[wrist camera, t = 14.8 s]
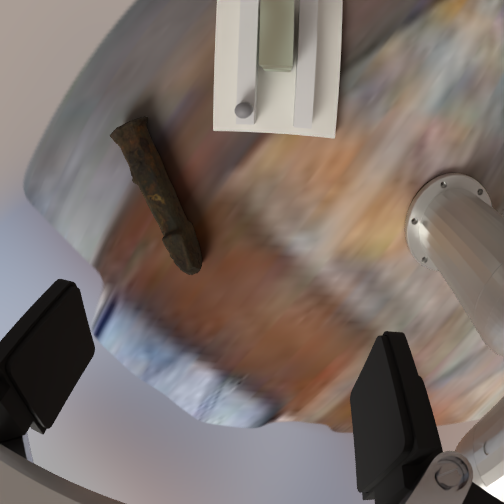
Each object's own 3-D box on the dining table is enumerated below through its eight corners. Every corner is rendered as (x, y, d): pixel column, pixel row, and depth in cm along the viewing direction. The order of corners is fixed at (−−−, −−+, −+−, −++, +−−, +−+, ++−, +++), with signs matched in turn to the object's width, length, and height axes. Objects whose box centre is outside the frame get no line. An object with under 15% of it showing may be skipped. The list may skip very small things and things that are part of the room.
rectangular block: (291, 6, 24) (294, -19, 17) (290, 72, 27) (292, 65, 20) (266, 5, 24) (260, -20, 17) (264, 71, 27) (259, 64, 20)
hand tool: (120, 127, 33) (100, 134, 29) (150, 113, 32) (131, 118, 28) (183, 267, 41) (172, 288, 37) (211, 260, 40) (203, 281, 36)
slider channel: (340, -23, 23) (350, -42, 18) (332, 136, 31) (342, 145, 26) (221, -29, 23) (210, -48, 18) (216, 128, 32) (203, 136, 27)
